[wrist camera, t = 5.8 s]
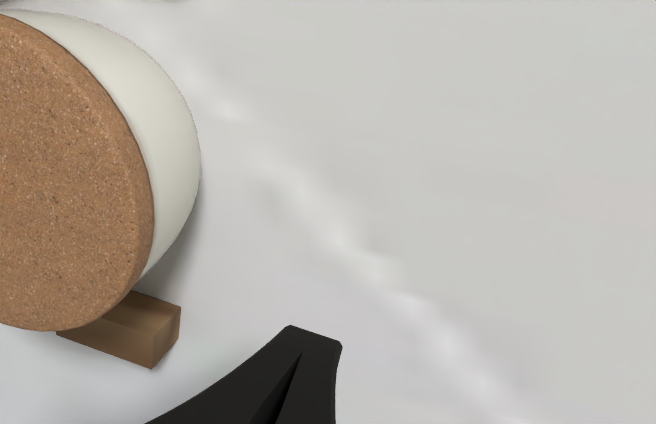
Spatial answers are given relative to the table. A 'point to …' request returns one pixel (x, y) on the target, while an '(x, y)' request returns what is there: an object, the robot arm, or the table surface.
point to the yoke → (132, 330)
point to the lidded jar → (85, 168)
